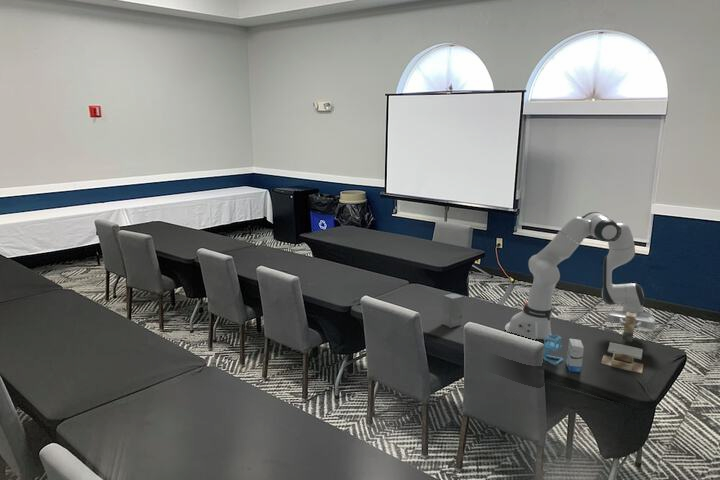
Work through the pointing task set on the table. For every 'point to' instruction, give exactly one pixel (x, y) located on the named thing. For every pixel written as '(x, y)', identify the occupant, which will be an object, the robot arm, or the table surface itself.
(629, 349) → the board
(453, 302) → the skincare box
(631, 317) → the block
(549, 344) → the chair
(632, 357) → the tan frame holder
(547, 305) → the robot arm
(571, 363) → the ink box
